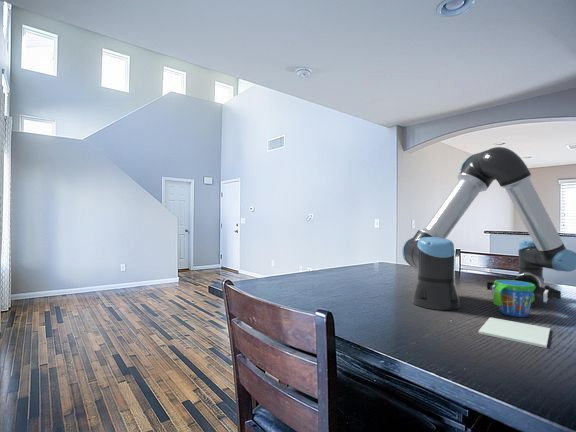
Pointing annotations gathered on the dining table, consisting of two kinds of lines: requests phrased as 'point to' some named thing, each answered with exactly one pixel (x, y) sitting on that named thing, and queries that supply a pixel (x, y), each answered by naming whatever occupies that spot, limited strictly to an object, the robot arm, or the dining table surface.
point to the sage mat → (516, 332)
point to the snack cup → (514, 297)
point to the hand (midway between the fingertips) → (517, 294)
